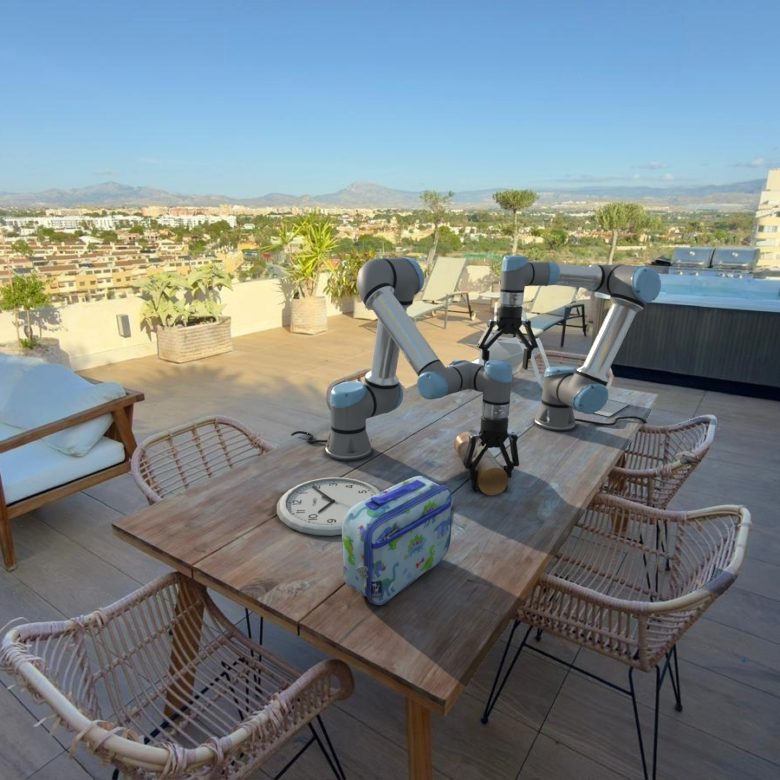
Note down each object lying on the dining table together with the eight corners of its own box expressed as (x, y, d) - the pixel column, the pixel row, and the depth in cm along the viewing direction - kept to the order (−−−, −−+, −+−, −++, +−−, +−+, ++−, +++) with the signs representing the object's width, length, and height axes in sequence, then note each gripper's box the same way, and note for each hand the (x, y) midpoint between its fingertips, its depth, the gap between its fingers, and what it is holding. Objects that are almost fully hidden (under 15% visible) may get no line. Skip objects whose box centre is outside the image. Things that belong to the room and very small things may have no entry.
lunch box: (371, 618, 102) (371, 524, 95) (336, 591, 109) (334, 502, 103) (455, 562, 119) (460, 479, 113) (420, 542, 126) (423, 463, 120)
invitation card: (608, 416, 214) (573, 407, 224) (608, 416, 214) (573, 408, 224) (628, 404, 229) (594, 396, 238) (628, 405, 229) (594, 397, 238)
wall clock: (392, 527, 129) (268, 531, 127) (391, 533, 130) (269, 537, 127) (383, 473, 158) (282, 475, 155) (383, 478, 158) (282, 480, 156)
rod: (453, 456, 175) (454, 431, 172) (478, 455, 176) (480, 430, 174) (477, 496, 149) (479, 468, 146) (507, 494, 150) (509, 466, 148)
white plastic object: (489, 418, 267) (470, 395, 242) (471, 346, 289) (451, 318, 264) (561, 394, 254) (547, 368, 230) (535, 321, 277) (521, 289, 252)
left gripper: (461, 421, 141) (456, 496, 148) (537, 419, 144) (529, 492, 151) (454, 412, 148) (450, 484, 155) (526, 410, 151) (519, 480, 158)
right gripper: (476, 307, 163) (472, 372, 169) (552, 306, 166) (545, 371, 172) (469, 303, 170) (466, 366, 176) (542, 303, 173) (536, 365, 180)
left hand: (489, 488), depth 153 cm, fingers closed on rod, 9 cm apart
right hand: (505, 369), depth 174 cm, fingers open, 13 cm apart
